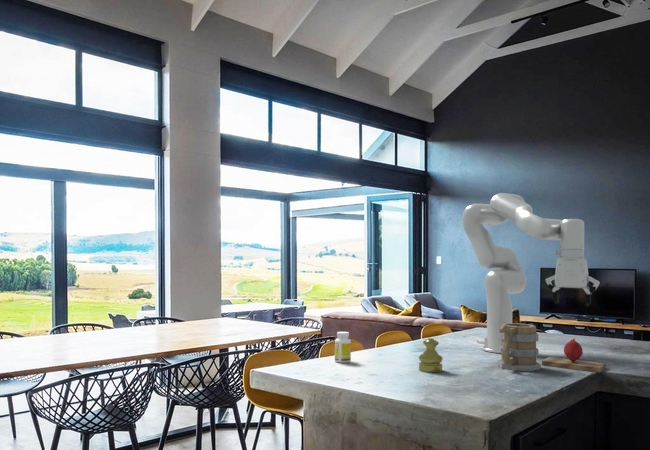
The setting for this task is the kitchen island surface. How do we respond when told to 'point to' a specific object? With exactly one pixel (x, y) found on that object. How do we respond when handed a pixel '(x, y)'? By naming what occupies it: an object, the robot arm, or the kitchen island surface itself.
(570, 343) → the red round fruit
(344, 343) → the supplement bottle
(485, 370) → the kitchen island surface
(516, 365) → the tankard
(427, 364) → the olive chess piece
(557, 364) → the cutting board
